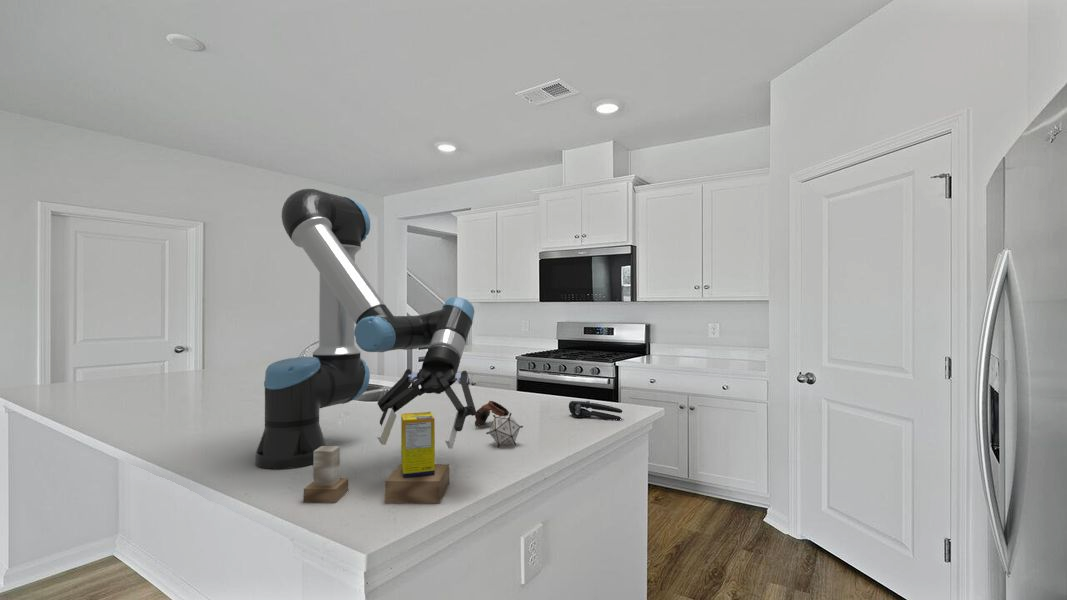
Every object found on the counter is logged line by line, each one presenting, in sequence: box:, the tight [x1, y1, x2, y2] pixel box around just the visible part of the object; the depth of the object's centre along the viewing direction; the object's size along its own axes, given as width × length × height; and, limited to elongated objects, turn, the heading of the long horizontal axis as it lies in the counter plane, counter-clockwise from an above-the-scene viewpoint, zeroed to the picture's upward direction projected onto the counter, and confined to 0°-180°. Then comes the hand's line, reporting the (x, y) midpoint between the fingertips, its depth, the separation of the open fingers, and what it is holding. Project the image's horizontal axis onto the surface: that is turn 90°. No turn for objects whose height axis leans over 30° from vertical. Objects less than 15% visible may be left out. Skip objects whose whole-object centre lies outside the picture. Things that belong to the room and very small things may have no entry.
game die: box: [485, 412, 524, 449], centre depth 131 cm, size 9×8×10 cm
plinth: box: [384, 463, 451, 504], centre depth 97 cm, size 10×10×4 cm
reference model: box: [302, 445, 350, 504], centre depth 96 cm, size 6×6×9 cm
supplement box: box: [400, 411, 436, 478], centre depth 98 cm, size 6×6×11 cm
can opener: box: [568, 400, 623, 421], centre depth 163 cm, size 18×7×6 cm, turn 68°
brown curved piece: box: [474, 400, 510, 427], centre depth 152 cm, size 12×10×8 cm
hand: (414, 443), depth 96 cm, fingers open, 13 cm apart
